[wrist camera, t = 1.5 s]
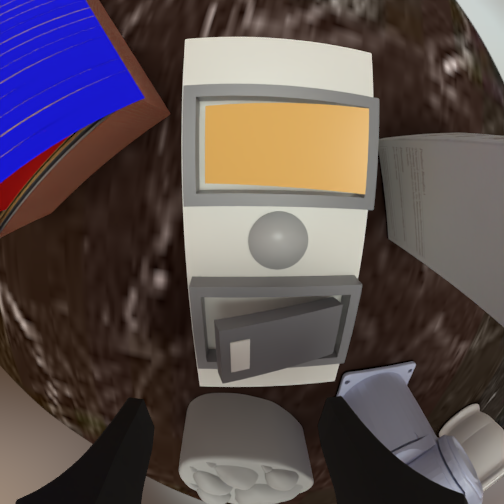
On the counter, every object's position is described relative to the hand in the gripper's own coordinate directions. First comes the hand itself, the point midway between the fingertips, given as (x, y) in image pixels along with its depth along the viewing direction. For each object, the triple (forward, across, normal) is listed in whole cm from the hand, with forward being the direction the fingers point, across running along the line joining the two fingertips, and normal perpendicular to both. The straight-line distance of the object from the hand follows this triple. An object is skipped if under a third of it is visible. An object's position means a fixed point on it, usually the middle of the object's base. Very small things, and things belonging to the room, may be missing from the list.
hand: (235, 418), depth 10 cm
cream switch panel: (+10, -2, -5) cm, 12 cm away
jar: (+10, -36, +26) cm, 45 cm away
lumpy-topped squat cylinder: (+11, 0, +16) cm, 20 cm away
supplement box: (+11, -13, -8) cm, 19 cm away
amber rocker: (+6, -2, -10) cm, 12 cm away
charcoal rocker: (+6, -2, 0) cm, 6 cm away
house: (+11, +14, -17) cm, 25 cm away
